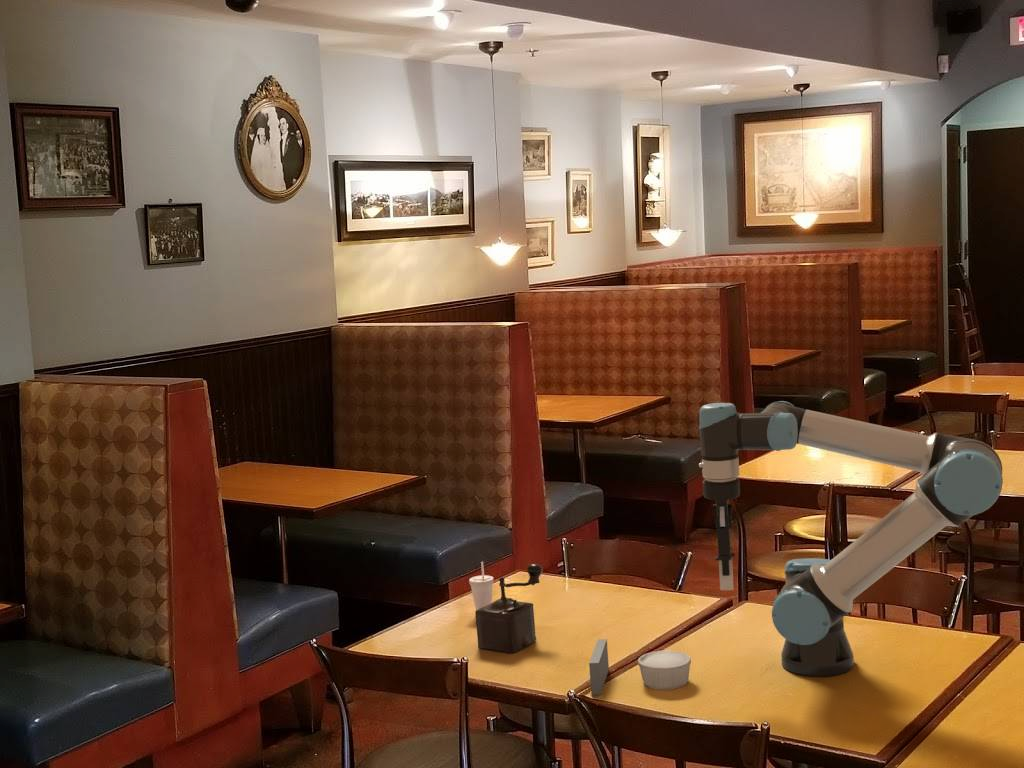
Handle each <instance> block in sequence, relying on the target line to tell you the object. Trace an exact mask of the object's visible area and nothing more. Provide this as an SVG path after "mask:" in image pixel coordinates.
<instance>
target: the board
mask: <svg viewBox="0 0 1024 768" xmlns="http://www.w3.org/2000/svg"><path fill="white" fill-rule="evenodd" d="M588 665H589V679H590V680H589V681H590V692H591V693H590V694H591V696H602V693H603V689H604V686H605V684H604V683H606V681H605V680H606V679H607V677H608V674H609V671H610V668H609V665H610V664H609V653H608V639H606V638H598V639H597V641H596V643H595V647H594V649H593V652H592V654H591V657H590V660H589V662H588Z"/></svg>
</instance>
